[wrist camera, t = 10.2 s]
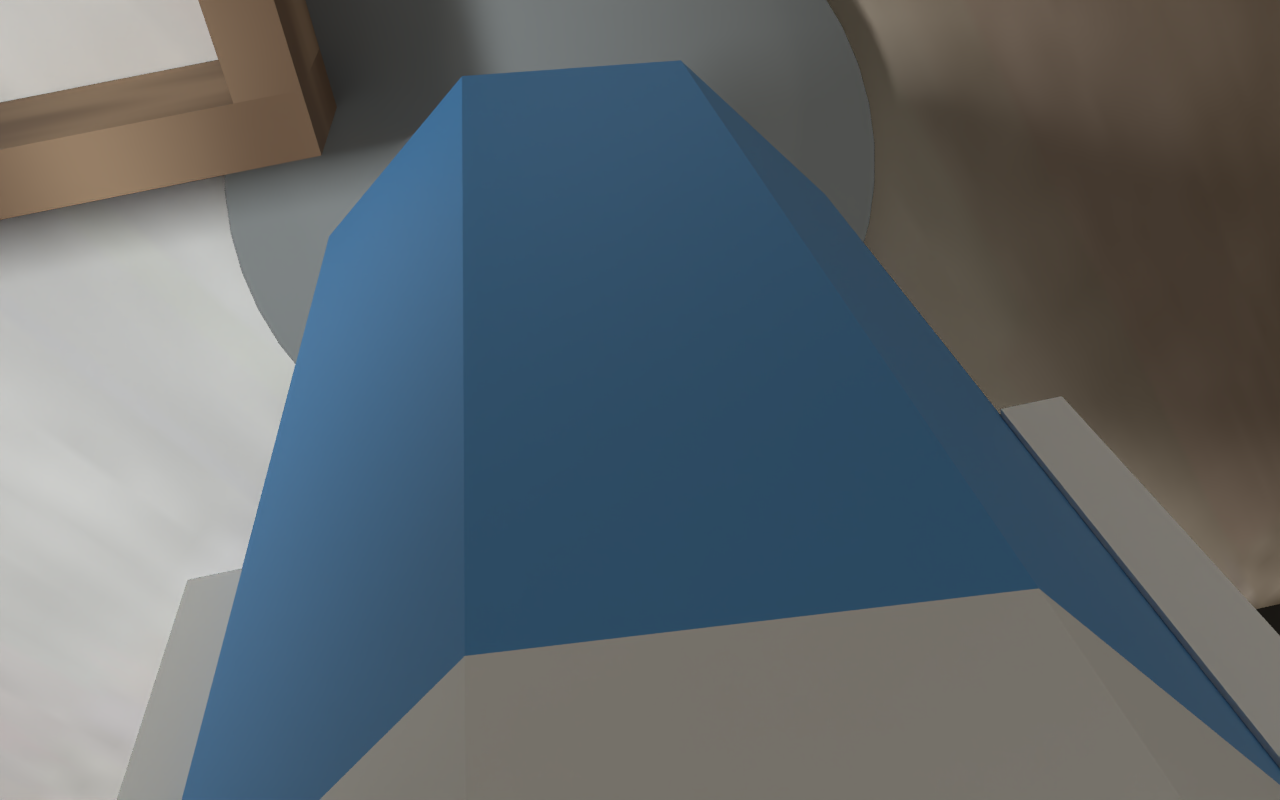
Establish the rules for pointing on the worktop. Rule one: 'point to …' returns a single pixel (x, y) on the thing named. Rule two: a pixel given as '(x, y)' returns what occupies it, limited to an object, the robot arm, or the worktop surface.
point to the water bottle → (666, 504)
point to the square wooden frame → (175, 116)
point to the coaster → (531, 41)
